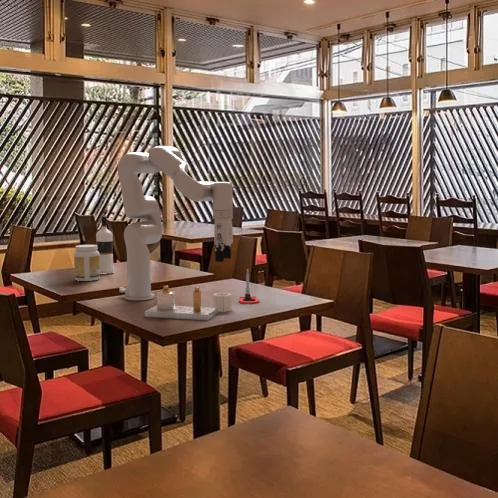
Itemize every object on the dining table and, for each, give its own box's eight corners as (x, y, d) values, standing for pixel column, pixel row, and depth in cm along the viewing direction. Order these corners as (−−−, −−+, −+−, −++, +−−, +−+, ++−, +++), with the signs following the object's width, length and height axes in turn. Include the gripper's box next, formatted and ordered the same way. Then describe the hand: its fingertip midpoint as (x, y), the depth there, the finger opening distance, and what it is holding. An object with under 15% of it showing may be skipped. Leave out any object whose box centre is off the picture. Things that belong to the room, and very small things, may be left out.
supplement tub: (99, 277, 316) (98, 244, 314) (101, 281, 304) (100, 246, 302) (73, 278, 312) (72, 244, 310) (75, 282, 301) (74, 247, 299)
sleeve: (211, 311, 238) (211, 295, 237) (216, 307, 244) (216, 292, 244) (228, 312, 236) (228, 296, 236) (232, 308, 243) (232, 293, 242)
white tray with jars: (144, 316, 229) (144, 288, 227) (157, 309, 240) (156, 282, 239) (208, 320, 223) (207, 291, 222) (217, 313, 235) (217, 285, 233)
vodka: (100, 275, 322) (99, 216, 319) (93, 273, 330) (91, 215, 326) (117, 273, 328) (116, 216, 324) (109, 271, 335) (108, 215, 332)
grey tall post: (260, 304, 252) (257, 299, 261) (261, 273, 250) (257, 268, 259) (239, 305, 251) (237, 299, 260) (239, 273, 249) (237, 269, 258)
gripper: (226, 216, 228) (226, 263, 230) (238, 213, 245) (238, 257, 247) (206, 216, 230) (206, 262, 232) (219, 213, 247) (220, 256, 249)
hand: (223, 259), depth 240 cm, fingers open, 9 cm apart
